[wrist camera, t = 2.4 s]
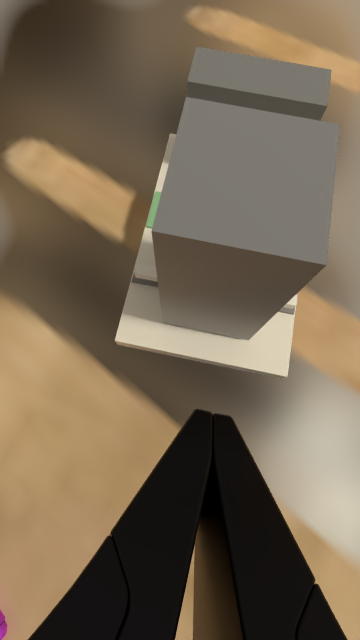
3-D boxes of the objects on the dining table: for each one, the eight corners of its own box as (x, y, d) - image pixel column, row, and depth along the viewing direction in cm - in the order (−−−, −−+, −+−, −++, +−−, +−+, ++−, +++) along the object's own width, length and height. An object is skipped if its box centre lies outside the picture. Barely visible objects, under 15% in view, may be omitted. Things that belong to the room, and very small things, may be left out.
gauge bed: (280, 378, 20) (338, 360, 13) (118, 344, 20) (88, 309, 13) (306, 172, 24) (360, 73, 17) (170, 146, 24) (168, 40, 17)
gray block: (285, 347, 19) (402, 279, 9) (127, 315, 19) (79, 216, 10) (295, 268, 20) (405, 136, 11) (147, 239, 20) (123, 85, 11)
